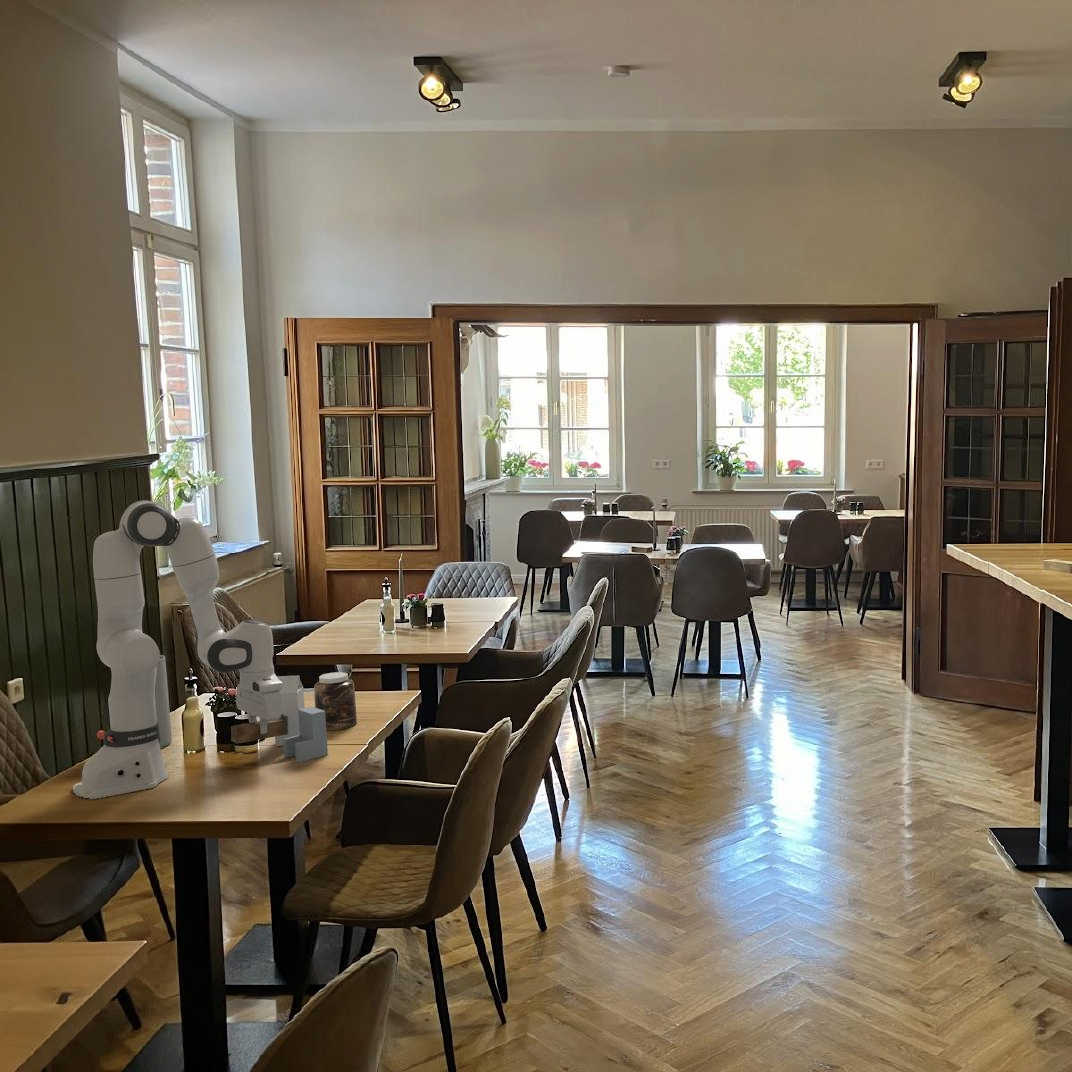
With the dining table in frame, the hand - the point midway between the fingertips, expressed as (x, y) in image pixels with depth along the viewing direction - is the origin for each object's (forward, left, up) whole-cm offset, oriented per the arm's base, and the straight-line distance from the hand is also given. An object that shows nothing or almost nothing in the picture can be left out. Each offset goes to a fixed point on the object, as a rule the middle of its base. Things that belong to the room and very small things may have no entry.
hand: (258, 731), depth 286 cm
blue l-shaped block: (+10, -8, -7) cm, 15 cm away
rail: (0, 0, -2) cm, 2 cm away
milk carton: (+13, +7, -8) cm, 16 cm away
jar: (+31, +13, -8) cm, 34 cm away
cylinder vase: (-16, +37, -8) cm, 41 cm away
